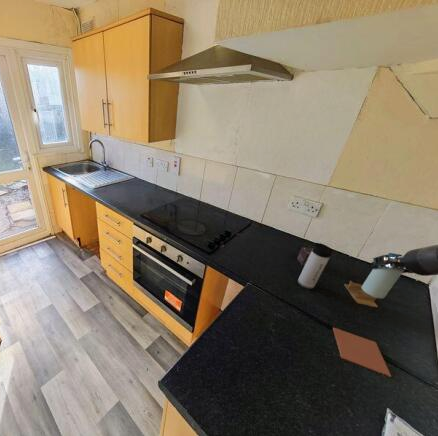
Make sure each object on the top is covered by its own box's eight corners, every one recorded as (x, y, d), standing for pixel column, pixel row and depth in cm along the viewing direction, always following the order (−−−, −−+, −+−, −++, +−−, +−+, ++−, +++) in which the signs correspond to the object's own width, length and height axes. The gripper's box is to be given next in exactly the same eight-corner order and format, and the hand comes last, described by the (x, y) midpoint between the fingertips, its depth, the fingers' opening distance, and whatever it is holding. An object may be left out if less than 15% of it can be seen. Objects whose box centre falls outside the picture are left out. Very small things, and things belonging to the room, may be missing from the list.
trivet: (375, 343, 76) (375, 342, 76) (390, 377, 66) (391, 376, 66) (332, 328, 80) (333, 327, 80) (341, 357, 71) (341, 357, 70)
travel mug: (298, 276, 104) (316, 240, 95) (315, 284, 100) (335, 247, 91) (295, 282, 100) (312, 245, 91) (312, 291, 96) (332, 253, 87)
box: (301, 265, 112) (307, 253, 108) (296, 258, 117) (301, 246, 114) (314, 267, 111) (320, 255, 108) (308, 260, 116) (314, 248, 113)
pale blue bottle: (377, 287, 81) (388, 300, 76) (357, 283, 83) (367, 295, 77) (403, 250, 74) (418, 261, 69) (381, 246, 75) (393, 257, 70)
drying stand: (377, 307, 90) (382, 300, 88) (356, 303, 92) (361, 296, 90) (362, 288, 100) (366, 282, 98) (344, 284, 101) (347, 278, 99)
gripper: (404, 267, 62) (359, 274, 77) (471, 280, 58) (410, 284, 74) (401, 241, 64) (358, 252, 79) (466, 252, 61) (408, 261, 76)
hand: (384, 267), depth 77 cm, fingers closed on pale blue bottle, 6 cm apart
